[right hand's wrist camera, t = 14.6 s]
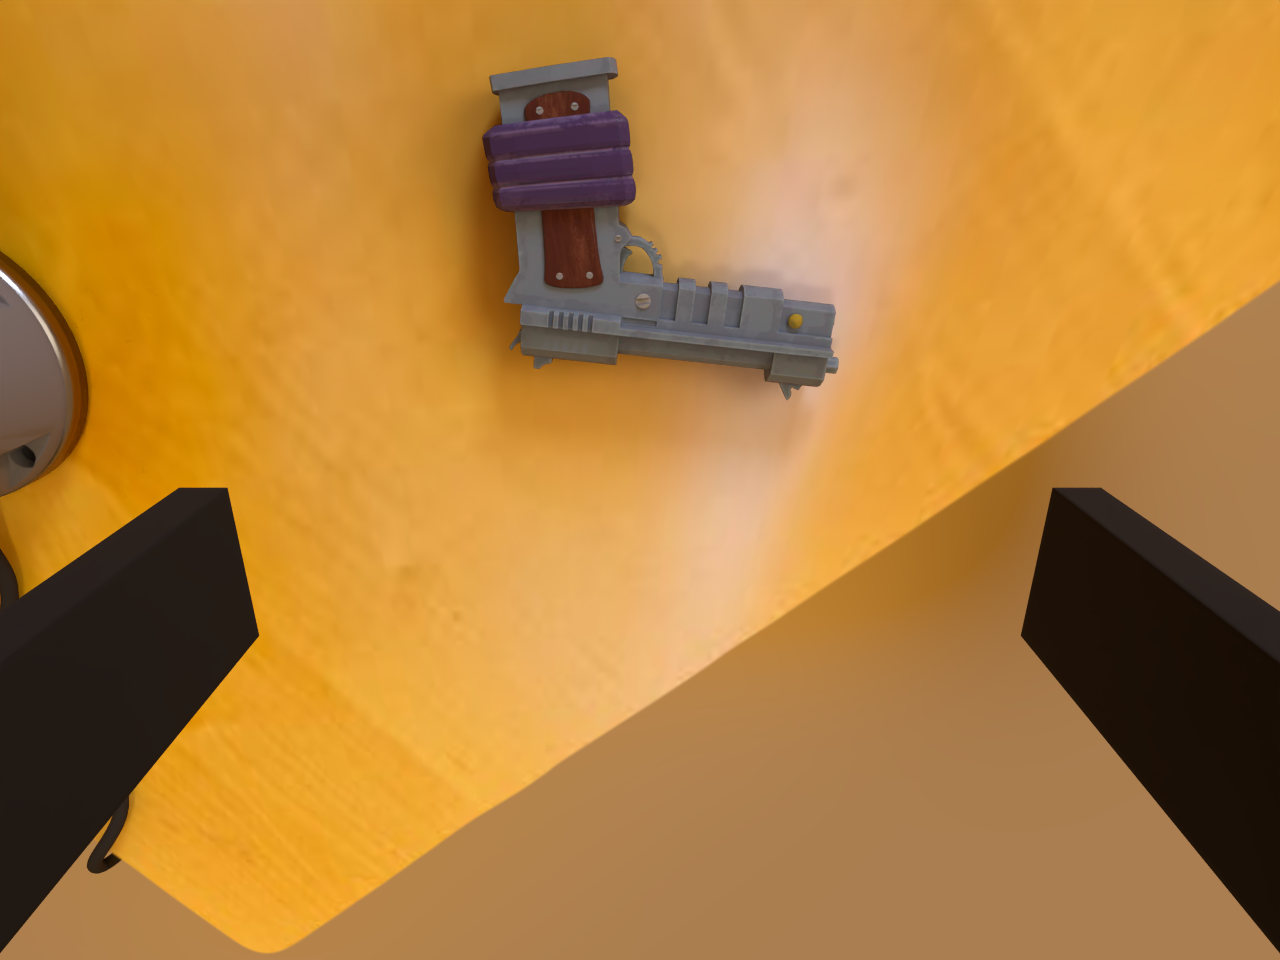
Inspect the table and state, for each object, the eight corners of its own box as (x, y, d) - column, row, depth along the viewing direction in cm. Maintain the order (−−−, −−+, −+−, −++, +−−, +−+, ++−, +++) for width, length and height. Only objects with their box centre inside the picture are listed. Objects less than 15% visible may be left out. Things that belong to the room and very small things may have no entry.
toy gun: (881, 98, 38) (820, 394, 43) (497, 50, 37) (486, 358, 43) (906, 91, 34) (836, 414, 40) (482, 37, 33) (472, 375, 39)
